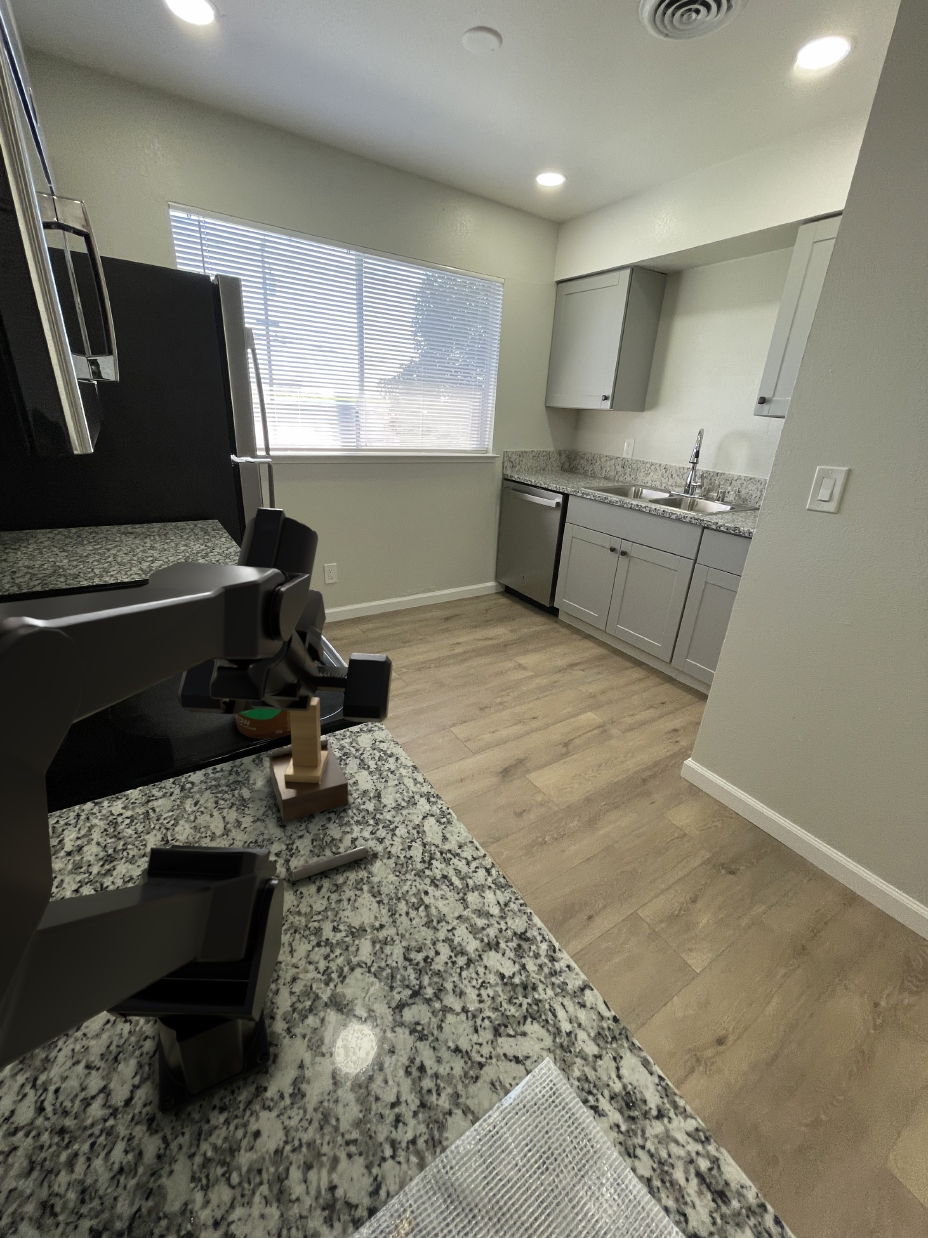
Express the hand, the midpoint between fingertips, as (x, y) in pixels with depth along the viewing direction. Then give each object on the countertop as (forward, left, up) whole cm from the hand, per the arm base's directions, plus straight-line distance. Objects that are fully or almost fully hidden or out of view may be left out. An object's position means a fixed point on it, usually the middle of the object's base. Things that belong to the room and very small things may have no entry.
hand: (308, 703), depth 56 cm
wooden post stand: (-1, +1, -8) cm, 8 cm away
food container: (+14, +4, -11) cm, 18 cm away
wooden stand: (-5, +1, -11) cm, 12 cm away
